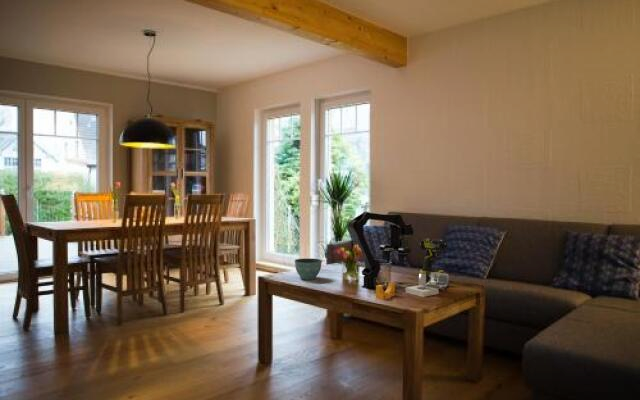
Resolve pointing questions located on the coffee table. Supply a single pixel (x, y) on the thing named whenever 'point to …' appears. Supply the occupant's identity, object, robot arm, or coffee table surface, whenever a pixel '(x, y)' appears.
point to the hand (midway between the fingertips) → (394, 264)
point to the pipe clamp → (388, 293)
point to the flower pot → (308, 268)
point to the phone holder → (438, 281)
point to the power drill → (431, 254)
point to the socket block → (402, 285)
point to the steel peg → (422, 281)
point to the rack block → (422, 291)
